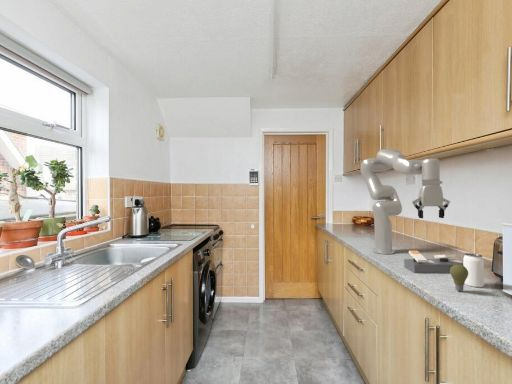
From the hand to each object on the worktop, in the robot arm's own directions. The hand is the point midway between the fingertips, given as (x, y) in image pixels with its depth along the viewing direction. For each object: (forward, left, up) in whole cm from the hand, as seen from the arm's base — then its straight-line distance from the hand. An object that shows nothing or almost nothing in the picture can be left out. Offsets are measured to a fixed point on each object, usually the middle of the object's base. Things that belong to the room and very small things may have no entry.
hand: (431, 218), depth 138 cm
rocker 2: (+7, +2, -18) cm, 19 cm away
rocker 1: (+7, -10, -18) cm, 21 cm away
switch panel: (+7, -2, -24) cm, 25 cm away
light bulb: (+35, -9, -24) cm, 43 cm away
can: (+28, +1, -24) cm, 37 cm away
